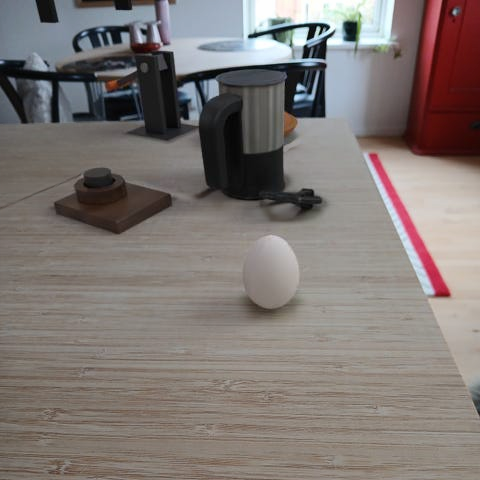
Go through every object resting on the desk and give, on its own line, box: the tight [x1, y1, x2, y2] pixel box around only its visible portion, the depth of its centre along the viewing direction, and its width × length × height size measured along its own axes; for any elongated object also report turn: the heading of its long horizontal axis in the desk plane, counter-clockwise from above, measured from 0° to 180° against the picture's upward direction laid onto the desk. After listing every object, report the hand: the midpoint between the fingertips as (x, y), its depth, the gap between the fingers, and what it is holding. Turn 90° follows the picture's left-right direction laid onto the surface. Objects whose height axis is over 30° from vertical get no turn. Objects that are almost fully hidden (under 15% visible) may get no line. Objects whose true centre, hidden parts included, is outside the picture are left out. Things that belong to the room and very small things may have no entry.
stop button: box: [83, 166, 113, 188], centre depth 68 cm, size 4×4×2 cm
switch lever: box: [104, 54, 167, 92], centre depth 91 cm, size 13×5×2 cm, turn 55°
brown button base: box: [53, 172, 173, 235], centre depth 68 cm, size 12×10×4 cm
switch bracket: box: [127, 49, 199, 142], centre depth 91 cm, size 10×9×14 cm
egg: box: [242, 234, 300, 310], centre depth 48 cm, size 5×5×7 cm
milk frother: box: [198, 68, 323, 210], centre depth 66 cm, size 14×16×15 cm
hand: (89, 16), depth 70 cm, fingers open, 13 cm apart
